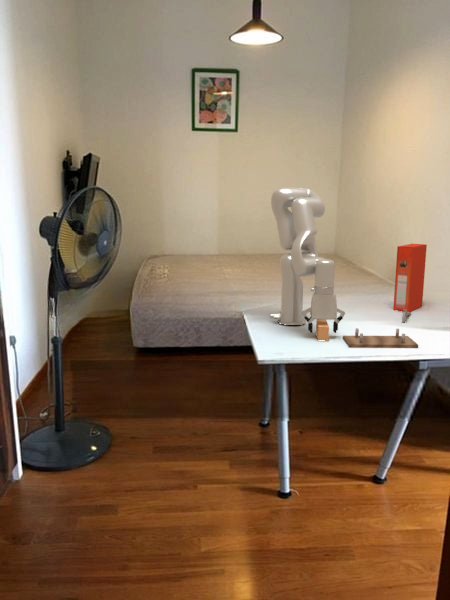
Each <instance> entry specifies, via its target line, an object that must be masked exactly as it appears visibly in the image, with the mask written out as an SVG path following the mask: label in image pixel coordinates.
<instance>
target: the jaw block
mask: <svg viewBox="0 0 450 600" xmlns="http://www.w3.org/2000/svg"><path fill="white" fill-rule="evenodd" d="M315 323H316V324H315V334H317V335H316V338H318V339H317V341H318V340H325V341H324V342H329V334H330V333H329V332H330V326H329V323H328V320H327V319H315Z"/></svg>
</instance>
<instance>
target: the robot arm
mask: <svg viewBox="0 0 450 600" xmlns="http://www.w3.org/2000/svg"><path fill="white" fill-rule="evenodd" d="M270 205H271V209H272V210H271V211H272V213H273V216H274V218H275V220H276V227H277V231H278V238H279V244H280V247H281V249H282V250H284V251H291V252H288V253H285V254H283V255H282V256H281V258H280V260H279V267H280V274H281V298H280V299H281V300H280V301H281V304H280V306H281V307H280V311H279V313H270V318H271V319H273V320H276V319H277V321H278V322H279V323H281V324H286V325H301V326H304V325H305V324H306V322H307V323H308V324H307V331H309V332H310V334H313V326H314V325H313V322H314V321H315V320H316V319H323V320H333V322H332V323H333V325H332V327H333V328H332V330H333V333H335V334H337V331H338V330H339V323H340V322H341V320H343V319H344V317H345V315H346V312H345V311H344V310H342V309H340V308H338V304H337V301H338V300H337V295H336V293H334V291H335V289H334V287H335V262H334V260H332V259H326V258H324V257H321V256H319V251H318V249H317V241H316V235H317V233H318V229H317V224H316V220H315V219H316V218H321V217H322V216H323V215H324V214H325V210H326V207H325V203H324V200H323V199H322V198H321V197H320V196H319V195H318V194H317V193H315V192H314V191H313V190H312V189H310V188H308V187H289V186H286V187H280V188H277V189H275V190H274V191H273V193H272V195H271V201H270ZM289 208H290V209H291V210H290V209H289ZM312 276H313V277H314V286H313V287H311V288H310V291H311V292H312V296H311V302H310V307H309V308H307V309H304V310H303V304H304V303H303V302H304V282H303V279H301V278H302V277H312ZM338 313H339V316H338ZM307 314H310V316H309V317H308V315H307ZM277 321H276V322H277ZM278 322H277V323H278ZM279 323H278V324H279ZM281 324H280V325H281ZM303 324H304V325H303Z"/></svg>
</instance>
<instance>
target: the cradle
mask: <svg viewBox="0 0 450 600" xmlns="http://www.w3.org/2000/svg"><path fill="white" fill-rule="evenodd" d="M354 330H355V335H342V340H343V341H344V342H345V344H346V345H347V347H348V348H355V349H357V348H358V349H359V348H360V349H361V348H365V349H366V348H372V349H373V348H374V349H375V348H377V349H378V348H379V349H380V348H381V349H382V348H384V349H385V348H386V349H387V348H388V349H395V348H396V349H419V344H418V343H417V342H415V340H414V339H412V338H411V337H410V336H408V335H406V333H401V335H400V328H395V335H364V333H359V332H360V330H359V328H355V329H354Z"/></svg>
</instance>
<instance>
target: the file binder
mask: <svg viewBox="0 0 450 600" xmlns="http://www.w3.org/2000/svg"><path fill="white" fill-rule="evenodd" d="M427 246H428V245H427V244H423V243H410V244H404V245H398V246H397V247H396V263H395V264H396V265H395V266H396V267H395V277H394V278H395V279H394V295H393V311H395V310H398V311H397V312H401V311H402V313H403V309H406V312H413V311H415V310H417V309H419V308H421V307H423V301H424V299H423V298H424V285H425V275H426V274H425V272H426V260H427V259H426V257H427Z"/></svg>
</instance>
